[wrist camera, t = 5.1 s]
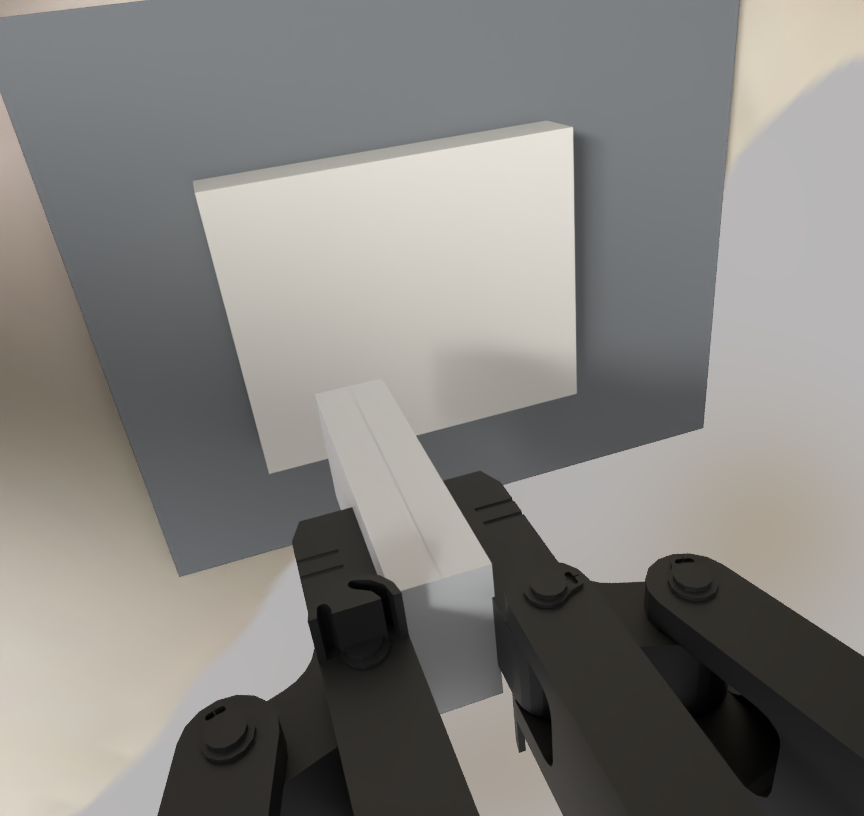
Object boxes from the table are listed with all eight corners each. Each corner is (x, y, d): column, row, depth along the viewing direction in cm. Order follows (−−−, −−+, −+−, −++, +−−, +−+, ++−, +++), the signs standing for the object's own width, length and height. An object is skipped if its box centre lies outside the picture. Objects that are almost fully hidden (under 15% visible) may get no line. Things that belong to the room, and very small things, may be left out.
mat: (179, 566, 27) (179, 576, 27) (-21, 20, 18) (-26, 20, 18) (694, 421, 32) (703, 428, 31) (732, -68, 23) (745, -70, 23)
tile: (269, 473, 24) (576, 393, 26) (194, 192, 19) (573, 126, 22) (262, 445, 25) (552, 371, 28) (192, 179, 21) (544, 119, 23)
